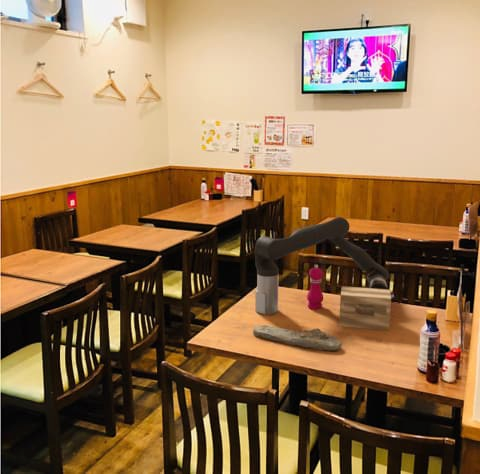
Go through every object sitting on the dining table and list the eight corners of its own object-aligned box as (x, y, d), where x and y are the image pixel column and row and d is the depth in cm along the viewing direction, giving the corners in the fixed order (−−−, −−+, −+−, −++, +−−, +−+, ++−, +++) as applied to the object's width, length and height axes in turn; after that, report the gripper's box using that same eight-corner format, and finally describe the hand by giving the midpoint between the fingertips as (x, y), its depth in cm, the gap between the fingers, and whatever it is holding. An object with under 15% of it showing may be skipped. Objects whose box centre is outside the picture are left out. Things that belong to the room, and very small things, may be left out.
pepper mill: (304, 308, 227) (305, 265, 222) (310, 303, 233) (311, 261, 228) (319, 311, 224) (321, 267, 219) (325, 305, 230) (326, 263, 225)
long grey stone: (259, 331, 207) (249, 342, 198) (258, 319, 205) (248, 330, 197) (344, 343, 192) (337, 355, 183) (344, 330, 190) (337, 342, 182)
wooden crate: (340, 315, 218) (341, 286, 215) (387, 320, 214) (389, 289, 211) (339, 326, 208) (340, 294, 205) (388, 330, 203) (391, 298, 200)
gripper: (363, 278, 230) (363, 291, 214) (394, 281, 227) (396, 294, 211) (363, 294, 232) (362, 308, 216) (393, 296, 229) (395, 311, 213)
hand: (379, 301), depth 213 cm, fingers closed
